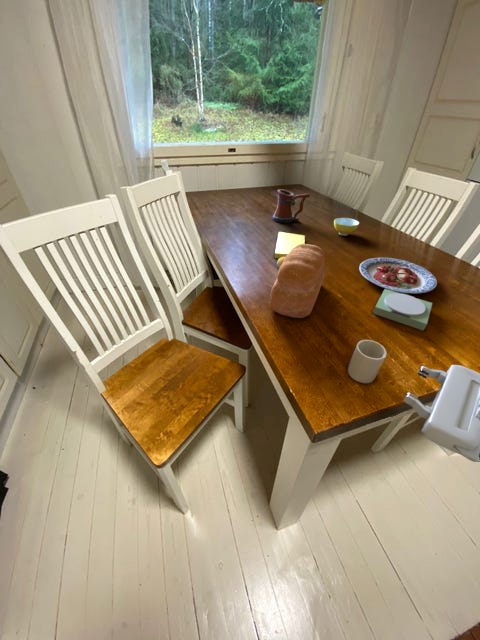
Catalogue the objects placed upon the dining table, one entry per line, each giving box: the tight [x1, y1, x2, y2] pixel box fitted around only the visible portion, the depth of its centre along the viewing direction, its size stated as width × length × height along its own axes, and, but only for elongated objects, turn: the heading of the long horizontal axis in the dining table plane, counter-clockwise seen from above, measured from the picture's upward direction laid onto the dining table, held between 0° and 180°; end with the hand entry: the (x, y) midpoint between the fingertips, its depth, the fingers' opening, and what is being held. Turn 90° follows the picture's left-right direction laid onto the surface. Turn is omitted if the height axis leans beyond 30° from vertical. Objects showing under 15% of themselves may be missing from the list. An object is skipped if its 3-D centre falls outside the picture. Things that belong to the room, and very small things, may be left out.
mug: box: [272, 188, 311, 224], centre depth 145 cm, size 18×12×15 cm, turn 76°
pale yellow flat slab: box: [274, 231, 306, 259], centre depth 121 cm, size 12×2×24 cm
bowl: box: [333, 217, 360, 237], centre depth 132 cm, size 11×12×6 cm
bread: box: [269, 243, 326, 319], centre depth 86 cm, size 14×26×15 cm, turn 156°
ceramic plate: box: [358, 257, 438, 294], centre depth 100 cm, size 26×26×3 cm
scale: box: [372, 288, 433, 331], centre depth 84 cm, size 14×13×3 cm
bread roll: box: [276, 257, 285, 269], centre depth 106 cm, size 8×9×4 cm
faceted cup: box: [347, 339, 388, 384], centre depth 63 cm, size 6×6×8 cm
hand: (412, 382), depth 57 cm, fingers open, 8 cm apart
